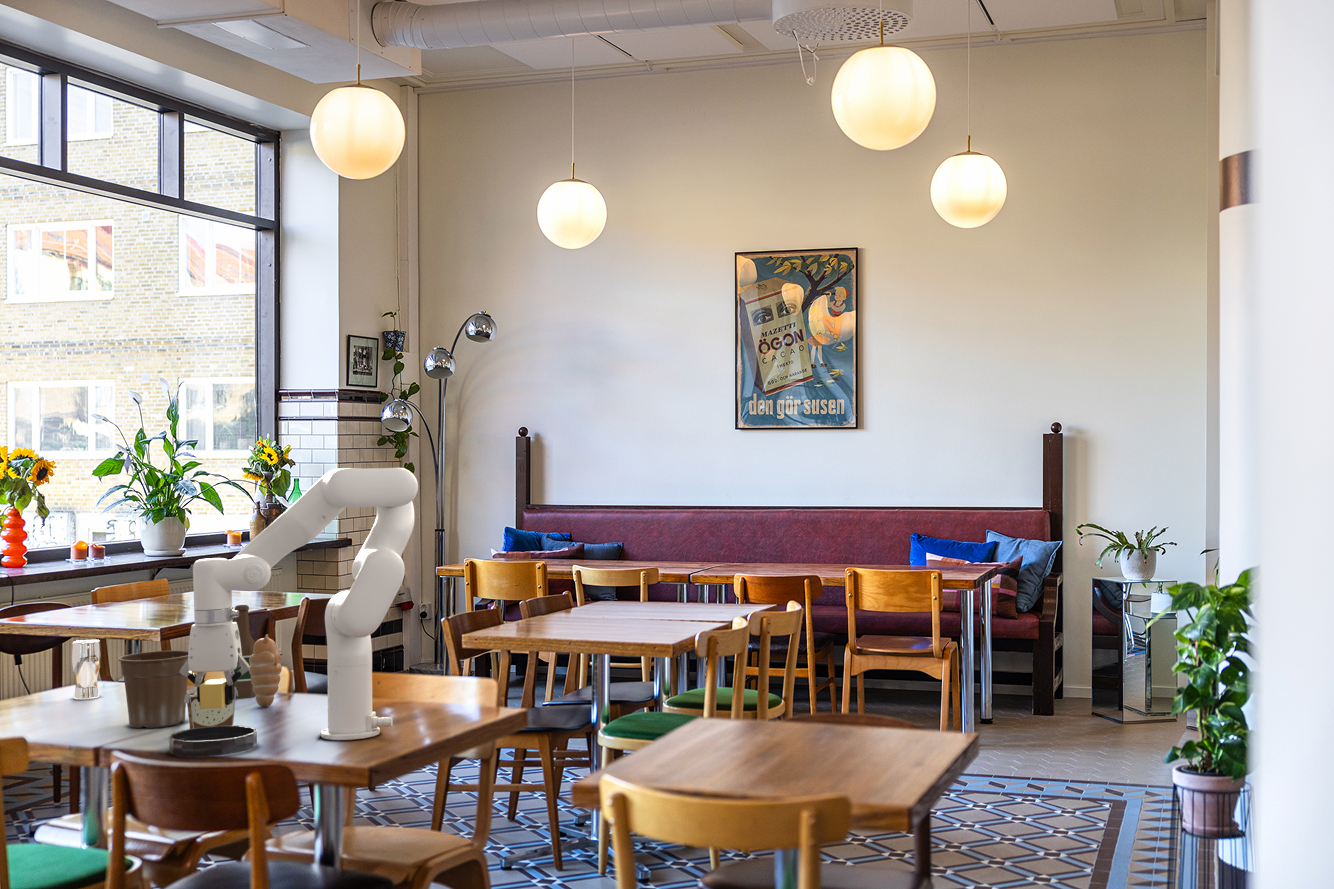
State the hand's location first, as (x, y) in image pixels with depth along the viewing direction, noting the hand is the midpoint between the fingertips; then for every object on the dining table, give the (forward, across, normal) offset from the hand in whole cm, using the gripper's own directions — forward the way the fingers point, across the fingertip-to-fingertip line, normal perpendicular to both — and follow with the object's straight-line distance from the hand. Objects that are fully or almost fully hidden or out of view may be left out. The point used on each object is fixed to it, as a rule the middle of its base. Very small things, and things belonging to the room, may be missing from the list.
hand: (216, 703), depth 267 cm
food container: (+10, +8, -18) cm, 22 cm away
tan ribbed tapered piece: (+10, +4, -53) cm, 54 cm away
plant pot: (+10, +24, -33) cm, 41 cm away
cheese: (0, 0, 0) cm, 0 cm away
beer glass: (+9, +57, -76) cm, 95 cm away
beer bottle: (+10, +15, -72) cm, 74 cm away
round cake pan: (+10, +1, 0) cm, 10 cm away
